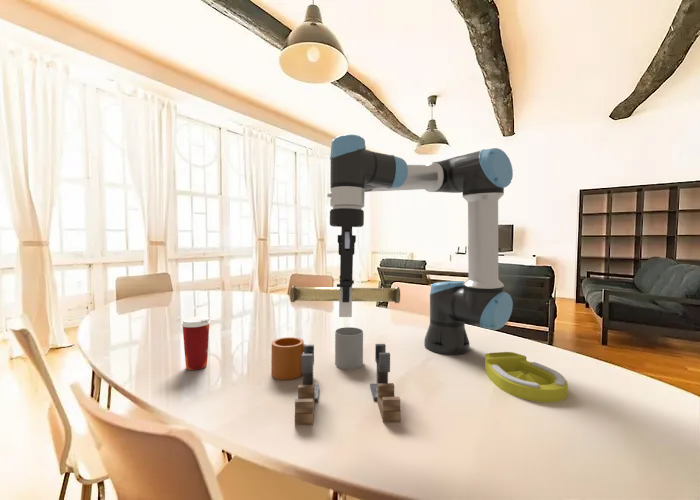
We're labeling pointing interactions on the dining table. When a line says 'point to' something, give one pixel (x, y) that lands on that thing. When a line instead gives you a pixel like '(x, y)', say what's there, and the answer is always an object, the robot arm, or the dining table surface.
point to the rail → (333, 293)
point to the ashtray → (525, 377)
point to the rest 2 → (388, 403)
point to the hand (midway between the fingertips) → (345, 314)
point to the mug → (287, 358)
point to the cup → (348, 348)
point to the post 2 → (380, 368)
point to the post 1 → (308, 368)
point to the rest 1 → (305, 405)
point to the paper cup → (196, 341)
